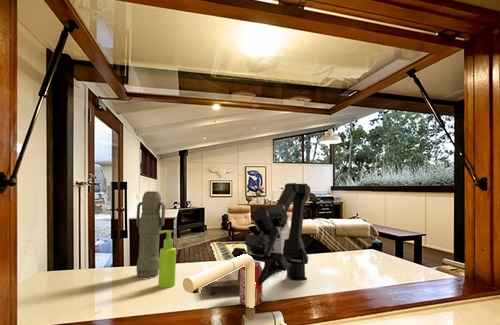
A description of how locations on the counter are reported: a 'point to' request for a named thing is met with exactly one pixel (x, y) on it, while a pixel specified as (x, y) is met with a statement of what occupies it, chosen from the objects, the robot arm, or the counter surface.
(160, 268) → the soap dispenser
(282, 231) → the cracker box
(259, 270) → the soda can
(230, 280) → the tan square tray
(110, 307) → the counter surface
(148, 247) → the thermos
